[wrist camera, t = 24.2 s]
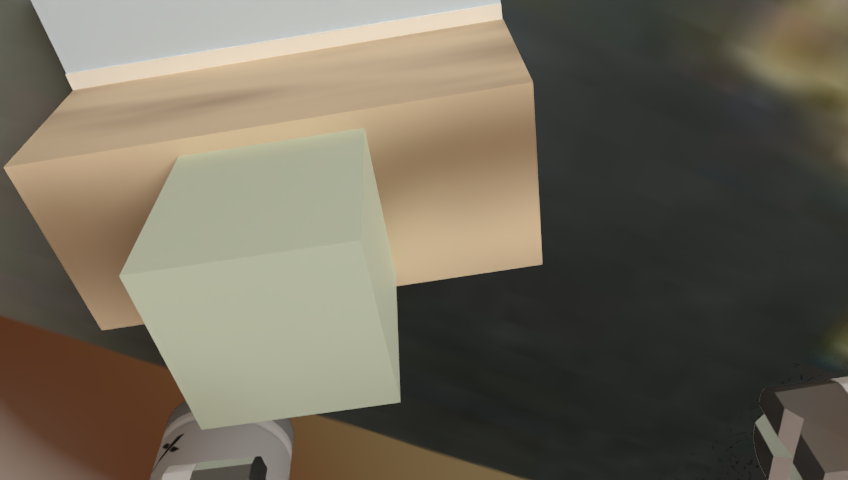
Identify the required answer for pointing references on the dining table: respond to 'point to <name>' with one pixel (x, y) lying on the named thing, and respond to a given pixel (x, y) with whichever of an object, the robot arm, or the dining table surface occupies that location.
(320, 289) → the sage cube
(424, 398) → the dining table surface
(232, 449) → the travel mug
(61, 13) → the shallow white tray
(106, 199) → the oak brick
